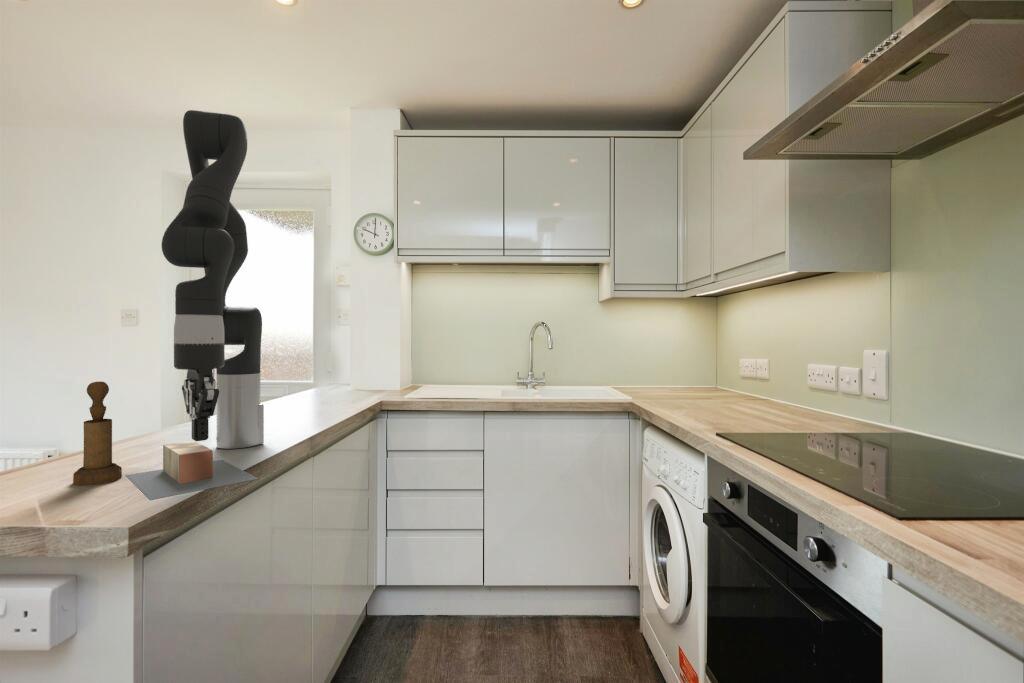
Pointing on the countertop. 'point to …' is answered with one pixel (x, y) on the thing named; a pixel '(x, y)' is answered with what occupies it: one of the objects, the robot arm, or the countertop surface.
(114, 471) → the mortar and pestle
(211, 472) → the maple block
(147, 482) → the slate mat
